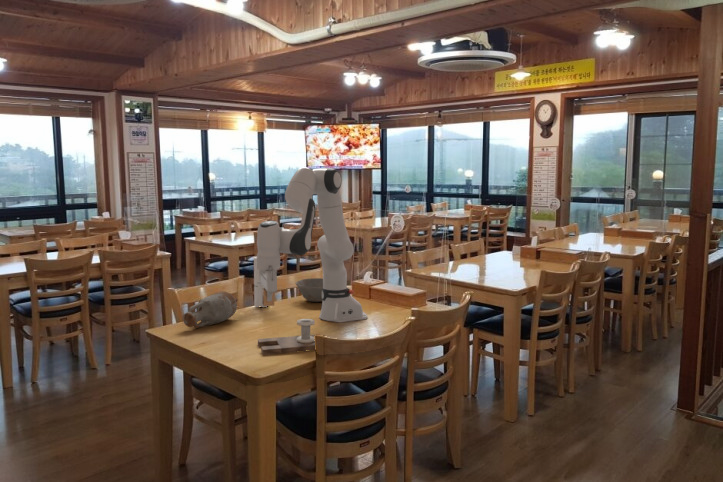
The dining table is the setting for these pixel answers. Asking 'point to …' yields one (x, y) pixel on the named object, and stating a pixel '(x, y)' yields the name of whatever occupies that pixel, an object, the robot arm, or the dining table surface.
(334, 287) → the robot arm
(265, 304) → the tan wooden block
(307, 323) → the bobbin
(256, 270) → the cylindrical container
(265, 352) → the notched board
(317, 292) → the ceramic bowl
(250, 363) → the dining table surface
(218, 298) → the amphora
